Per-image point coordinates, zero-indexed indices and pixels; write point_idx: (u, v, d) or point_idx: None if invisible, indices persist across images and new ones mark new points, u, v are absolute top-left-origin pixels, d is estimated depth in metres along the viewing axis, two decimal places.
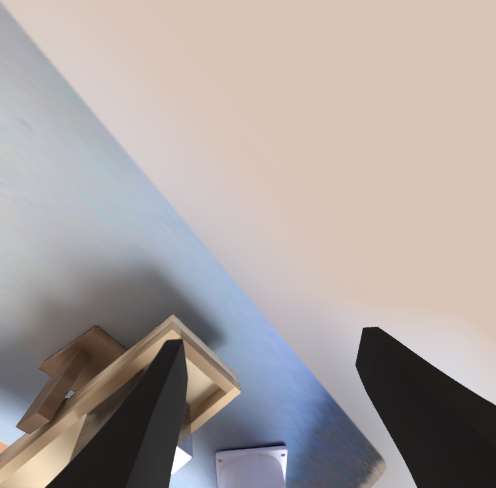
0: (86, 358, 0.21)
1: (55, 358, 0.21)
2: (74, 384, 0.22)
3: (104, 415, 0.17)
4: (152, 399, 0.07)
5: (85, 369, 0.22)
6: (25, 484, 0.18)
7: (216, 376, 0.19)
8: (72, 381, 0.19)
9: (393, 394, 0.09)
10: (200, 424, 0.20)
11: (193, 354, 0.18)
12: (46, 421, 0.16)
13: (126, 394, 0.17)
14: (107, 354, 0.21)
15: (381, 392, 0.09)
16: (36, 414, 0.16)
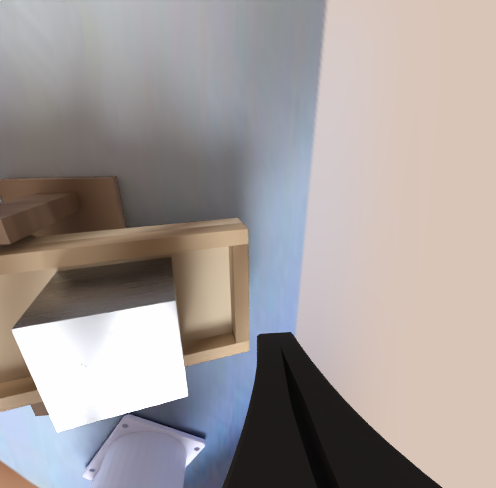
0: (77, 207, 0.14)
1: (31, 182, 0.14)
2: None
3: (101, 282, 0.11)
4: (281, 389, 0.07)
5: (60, 222, 0.15)
6: None
7: (242, 316, 0.14)
8: (54, 219, 0.12)
9: None
10: None
11: (243, 273, 0.13)
12: (3, 241, 0.10)
13: (144, 272, 0.11)
14: (106, 220, 0.15)
15: None
16: None
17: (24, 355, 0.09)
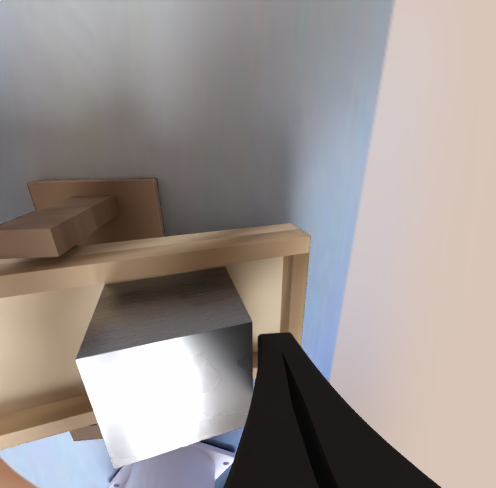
0: (115, 212, 0.13)
1: (66, 185, 0.13)
2: None
3: (159, 298, 0.10)
4: (283, 389, 0.07)
5: None
6: None
7: (296, 330, 0.13)
8: (96, 226, 0.11)
9: None
10: None
11: (300, 285, 0.12)
12: (50, 254, 0.09)
13: (202, 285, 0.10)
14: (145, 226, 0.14)
15: None
16: (45, 231, 0.08)
17: (87, 388, 0.07)
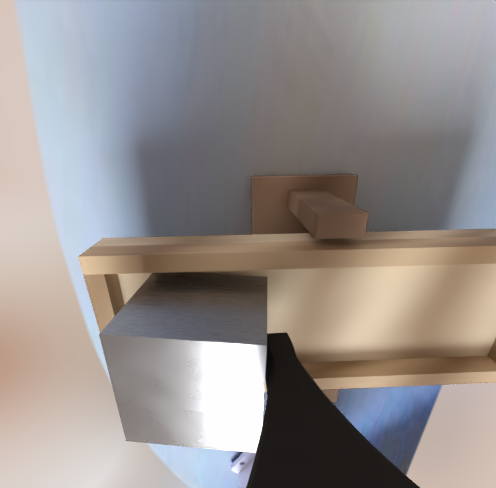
0: None
1: (285, 180, 0.14)
2: (264, 229, 0.15)
3: (190, 295, 0.10)
4: (298, 388, 0.07)
5: (298, 218, 0.15)
6: None
7: None
8: None
9: None
10: (443, 382, 0.13)
11: None
12: (359, 234, 0.10)
13: (235, 292, 0.10)
14: None
15: None
16: (364, 215, 0.10)
17: (107, 362, 0.08)
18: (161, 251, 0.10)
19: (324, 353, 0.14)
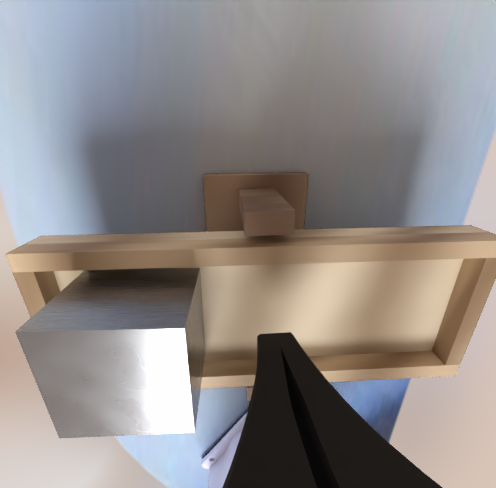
0: None
1: (235, 178, 0.15)
2: (217, 226, 0.16)
3: (119, 289, 0.10)
4: (282, 389, 0.07)
5: None
6: None
7: (464, 337, 0.13)
8: None
9: None
10: (385, 377, 0.14)
11: (484, 290, 0.12)
12: (288, 232, 0.10)
13: (165, 283, 0.10)
14: None
15: None
16: (291, 212, 0.10)
17: (28, 359, 0.08)
18: (91, 248, 0.10)
19: None
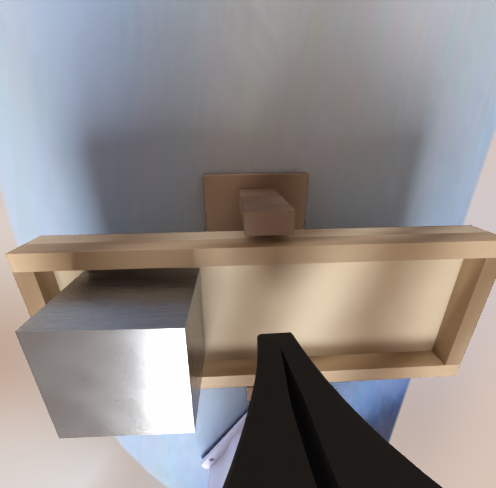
0: None
1: (235, 178, 0.15)
2: (217, 226, 0.16)
3: (119, 289, 0.10)
4: (282, 389, 0.07)
5: None
6: None
7: (464, 337, 0.13)
8: None
9: None
10: (385, 377, 0.14)
11: (484, 290, 0.12)
12: (288, 232, 0.10)
13: (165, 283, 0.10)
14: None
15: None
16: (291, 212, 0.10)
17: (27, 359, 0.08)
18: (91, 248, 0.10)
19: None
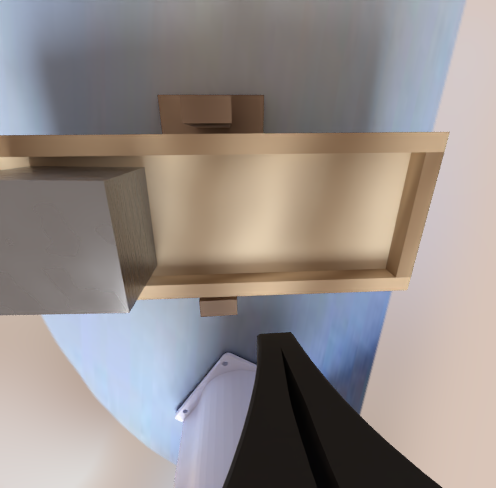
0: (230, 124, 0.15)
1: None
2: None
3: (55, 171, 0.10)
4: (282, 389, 0.07)
5: None
6: None
7: (412, 245, 0.13)
8: None
9: None
10: (336, 290, 0.14)
11: (427, 190, 0.12)
12: (225, 120, 0.10)
13: (103, 170, 0.10)
14: None
15: None
16: (227, 97, 0.10)
17: None
18: (29, 135, 0.10)
19: (222, 264, 0.14)
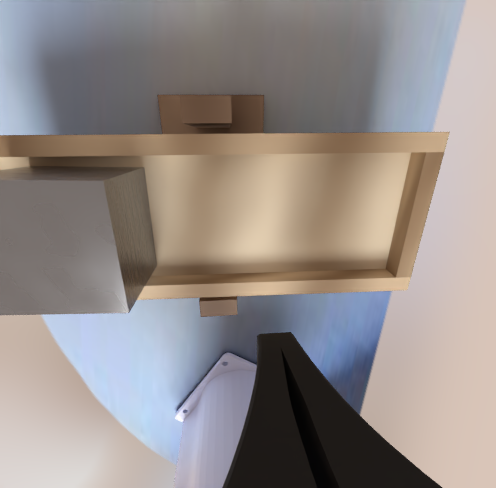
0: (230, 124, 0.15)
1: None
2: None
3: (55, 171, 0.10)
4: (282, 389, 0.07)
5: None
6: None
7: (412, 245, 0.13)
8: None
9: None
10: (336, 290, 0.14)
11: (427, 190, 0.12)
12: (225, 120, 0.10)
13: (103, 170, 0.10)
14: None
15: None
16: (227, 97, 0.10)
17: None
18: (29, 135, 0.10)
19: (222, 264, 0.14)
